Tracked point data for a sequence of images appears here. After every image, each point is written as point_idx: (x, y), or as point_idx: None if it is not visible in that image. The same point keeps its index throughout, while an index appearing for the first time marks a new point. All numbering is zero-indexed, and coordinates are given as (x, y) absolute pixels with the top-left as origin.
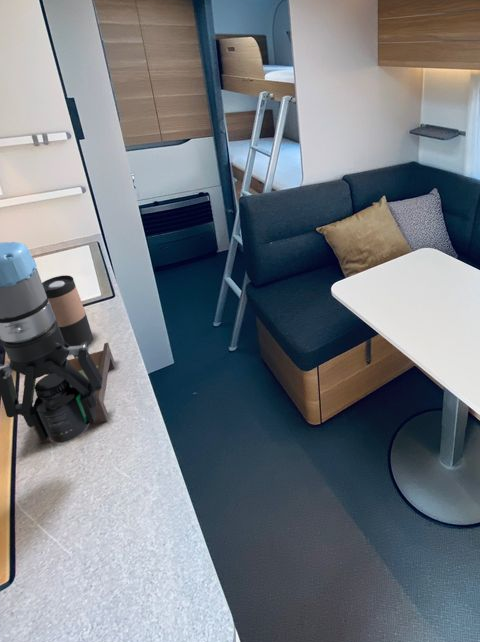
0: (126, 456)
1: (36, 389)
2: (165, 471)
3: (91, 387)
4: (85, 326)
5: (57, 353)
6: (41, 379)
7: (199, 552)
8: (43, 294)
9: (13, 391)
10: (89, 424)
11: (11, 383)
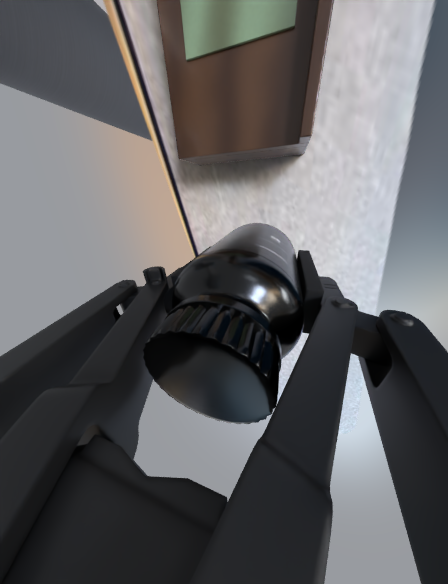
0: (322, 261)
1: (162, 387)
2: (366, 313)
3: (353, 353)
4: None
5: None
6: (152, 348)
7: (360, 395)
8: None
9: (84, 345)
10: (271, 156)
11: (37, 381)
